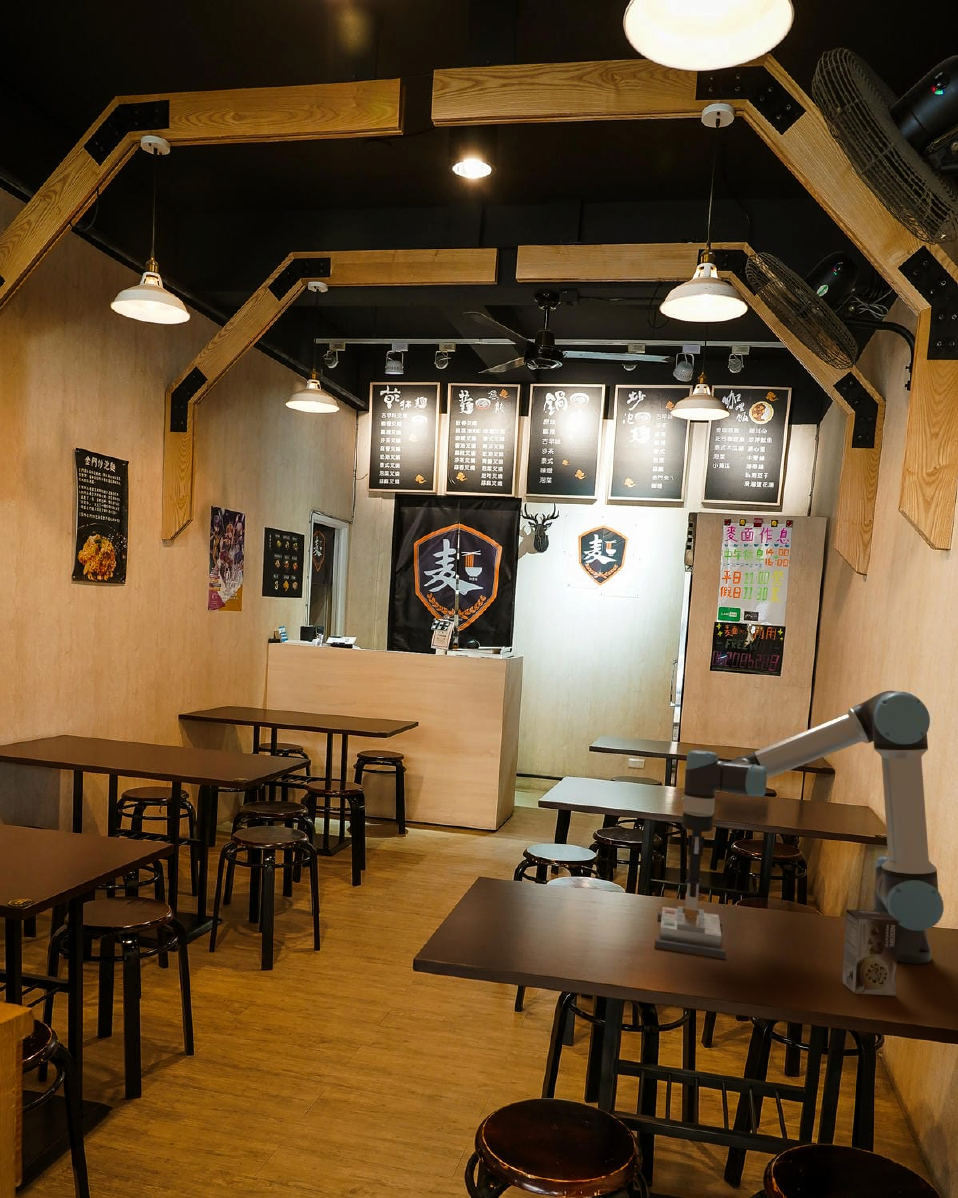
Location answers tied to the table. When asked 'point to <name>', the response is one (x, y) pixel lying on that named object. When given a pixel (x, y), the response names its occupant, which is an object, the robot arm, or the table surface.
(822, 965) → the table surface
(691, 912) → the lever
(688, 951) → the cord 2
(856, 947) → the coffee box
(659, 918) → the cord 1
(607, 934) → the table surface
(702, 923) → the panel
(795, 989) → the table surface
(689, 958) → the table surface
